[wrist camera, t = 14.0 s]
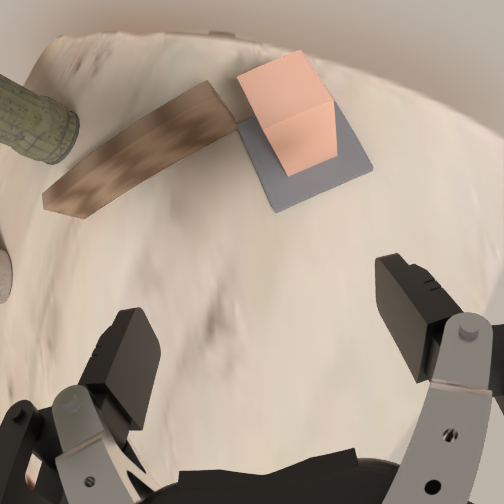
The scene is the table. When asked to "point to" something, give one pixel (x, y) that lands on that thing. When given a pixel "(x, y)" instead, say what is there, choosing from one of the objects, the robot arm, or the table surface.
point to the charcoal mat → (311, 179)
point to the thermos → (35, 124)
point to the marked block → (293, 111)
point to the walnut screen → (141, 152)
